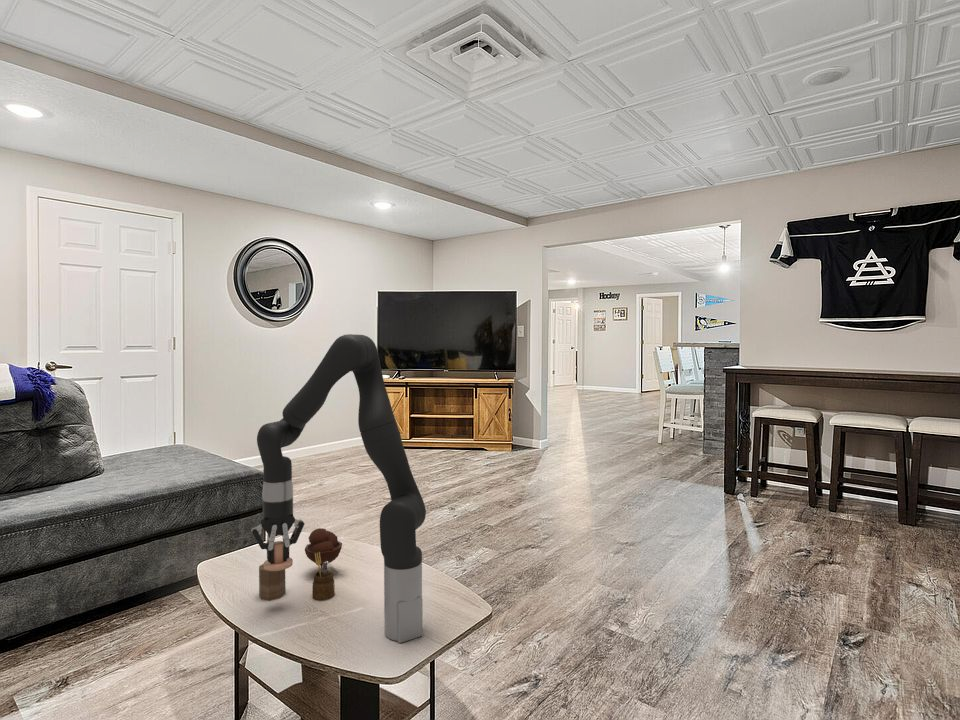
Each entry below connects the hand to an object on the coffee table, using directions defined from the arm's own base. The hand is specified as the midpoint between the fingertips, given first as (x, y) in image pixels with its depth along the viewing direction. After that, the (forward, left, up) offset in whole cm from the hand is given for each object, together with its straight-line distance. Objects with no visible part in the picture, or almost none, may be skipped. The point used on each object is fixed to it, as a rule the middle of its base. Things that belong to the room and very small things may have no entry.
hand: (278, 561), depth 142 cm
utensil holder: (+1, -12, -14) cm, 18 cm away
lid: (0, 0, -1) cm, 1 cm away
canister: (+9, 0, -13) cm, 16 cm away
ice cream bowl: (+15, -16, -14) cm, 26 cm away
